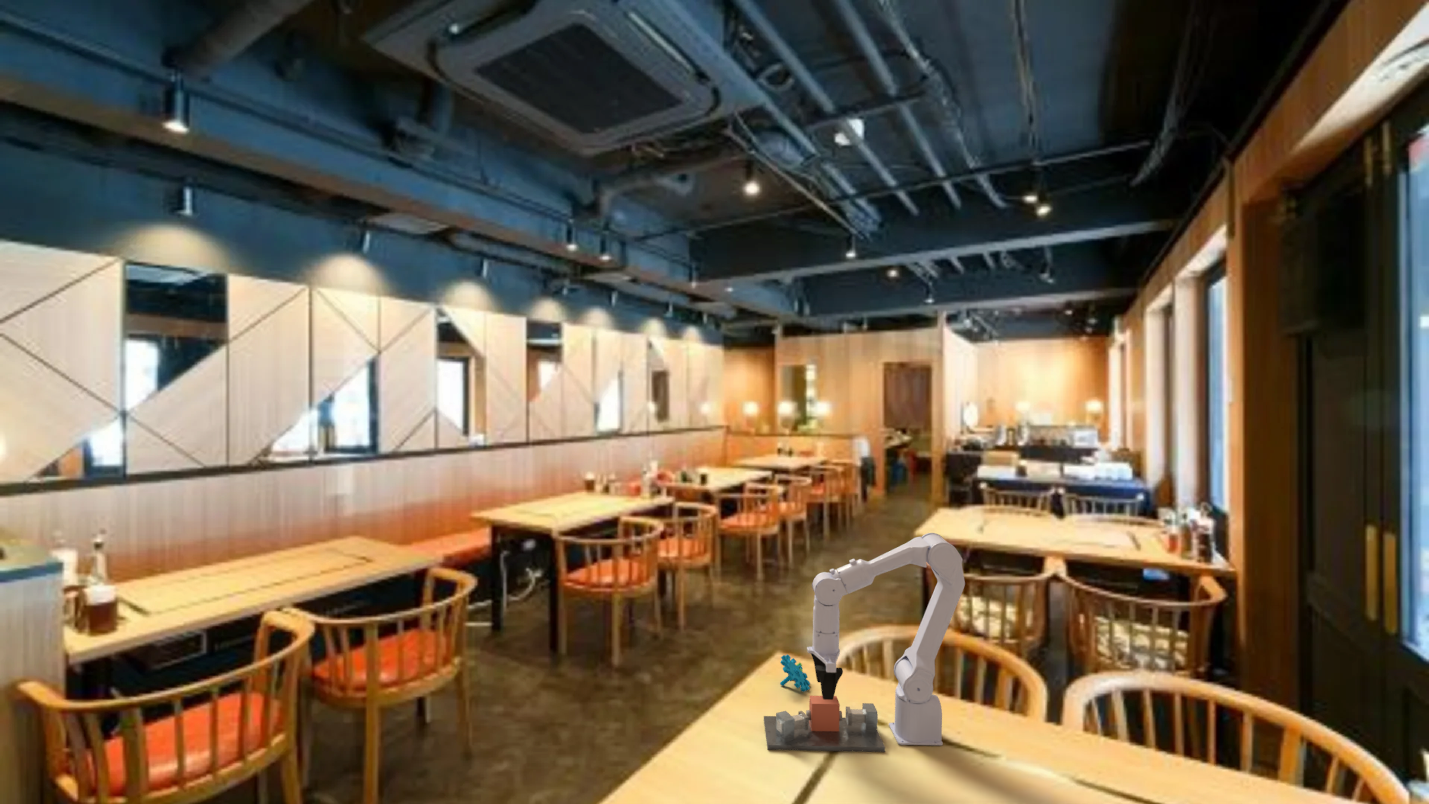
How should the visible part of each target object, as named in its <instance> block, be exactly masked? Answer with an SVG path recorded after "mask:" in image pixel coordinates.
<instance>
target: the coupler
mask: <svg viewBox="0 0 1429 804" xmlns="http://www.w3.org/2000/svg"><path fill="white" fill-rule="evenodd" d="M808 702H809V705H808V709H807V710H806V711H805V712H806V713H805V714H806V715H807V716H808V717H809V724H810V727H811V731H839V721H842V718H843V714H842V710H840V709H841V708H840V706H841V705H840V702H839V699H838V697H837V695H834V697H833V700H824V699H823V696H822V695H809V701H808Z"/></svg>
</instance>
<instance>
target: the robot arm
mask: <svg viewBox="0 0 1429 804" xmlns="http://www.w3.org/2000/svg"><path fill="white" fill-rule="evenodd" d="M910 564H911V565H915V566H918V567H921V568H927V567H928V566H927V564H928V565H929V566H930V567H931V570H932V572H933V574H934V577H935V578H936V581H937V583H936V585H935V587H934V590H933V593H932V594H931V598H930V599H929V601H928V604H927V607H926V609H925V611H924V614H923V617H922V619H921V621H920V624H919V627H918V629H917V631H916V634H915V637H914V639H913V642H912V643H911V644H912V645H910V646H909V647H908V648H906V649H905V650H904V653H903V655H902V656H901V657H899V658H898V659H897V661H896V662H895V663H894V666H893V674H894V676H895V678H896V680H897V681H898V683H897V685H896V687H895V691H894V692H895V694H894V696H895V700H894V705H895V706H894V722H889V723H888V727H889V728H890V731H891V732H892V735H893V736H894V738H895V740H896V742H897V744H898V745H903V746H904V745H905V746H907V745H909V746H943V741H942V738H943V737H942V735H943V734H942V733H943V732H942V731H943V710H942V704H941V701H940V698H939V697H938V695H937V694H933V692H934V684H933V683H934V679H935V675H936V665H935V664H936V662H935V660H936V658H937V655H938V653H939V651H940V648H941V645H942V643H943V641H944V638H945V636H946V633H947V631H948V629H949V625H950V623H951V621H952V618H953V616H954V614H955V613H954V612H955V611H956V608H957V606H958V603H959V601H960V598H961V596H962V593H963V591H964V588H965V585H966V582H965V575H964V569H963V557H962V555H961V554H960V553H959V551H958V549H957V548H956V547H955V546H954V545H953V544H952V543H949V542H948V541H947V540H945V539H944V538H943V537H942V536H941V534H938V533H935V532H927V533H925V534H923V535H922V536H916V537H913V538H912V539H911V540H908V541H907V542H906V543H904V544H901V545H899V546H898V547H895V548H892V549H891V550H890V551H887V552H885V553H882V554H881V555H879V556H877V557H874V558H873V559H870V560H869V561H867V560H864V559H861V558H859V559H855V558H852V559H849V563H848V564H845V565H842V566H840V567H838V568H836V569H835V568H830V569H829V571H828V572H826V571H822V572H820V573H818V574H817V575H815V577H814V579H813V581H812V583H811V588H812V590H813V592H814V595H813V596H814V597H813V607H812V608H813V609H812V610H813V611H812V646H807V647H806V651H807V653H808V654H811V657H812V661H813V665H814V670H815V677H816V681H817V683H820V690H821V696H823V699H824V700H833V697H834V696H835V693H836V689H837V686H838V683H839V680H840V678H841V677H842V675H843V673H844V670H843V668H842V667H837V661H838V659H839V657H840V655H841V654H840V653H841V650H840V614H841V613H840V602H841V601H842V598H843V597H844V596H847V595H849V594H851V593H853V592H854V593H855V592H857V591H859V590H861V589H864V588H865V587H868V586H870V585H872V584H873V582H874V580H875V577H876V576H880V575H882V574H885V573H887V572H890V571H891V572H892V571H893V570H896V569H898V568H901V567H904V566H906V565H910Z"/></svg>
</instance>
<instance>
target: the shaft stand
mask: <svg viewBox="0 0 1429 804" xmlns="http://www.w3.org/2000/svg"><path fill="white" fill-rule="evenodd" d="M878 716H879V715H878V710H877V708H876V706H875V704H874V703H872V702H871V703H866V702H864V703H862V709H860V708H859V709H858V708H857V709H856V708H854V709H853V708H851V707H850V706H845V717H842V721H839V731H811V727H810V724H809V717H808V716H807V715H806V713H805V712H803V711H802V710H800V711H798V713H797V714H795V715H791V714H790V713H789V712H788V711H787V710H783V711H780V712H776V714H775V715H763V725H764V733H765V738H766V740H765V741H766V747H767V750H768V751H803V752H805V751H807V752H809V751H810V752H811V751H812V752H813V751H814V752H853V753H854V752H858V753H859V752H860V753H862V752H865V753H886V746H885V744H884V742H883V740H882V737H881V735H880V733H879V731H878V723H879V722H878Z"/></svg>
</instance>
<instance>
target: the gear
mask: <svg viewBox="0 0 1429 804" xmlns="http://www.w3.org/2000/svg"><path fill="white" fill-rule="evenodd" d="M780 658H781V660H780V661H779V662H780V664H781V665H782V666H783V667H782V670H783V672H784V673H786V674H787V676H786V677H785V678H784V679H783V680H781V681H780V683H779V685H780V686H781V687H783V686H785V685H786V684H787V683H788V682H792V681H794V684H793V685H794V687H795V688H796V689H799V688H800V691H801V692H803V693H804V692H806V691H807V690H808V691H809V690H810V685H811V682H810V681H809V680H808V674H807V673H806V672H804V671H803V664H802V663H801V662H798V663H797V660H796V659H795V658H794V657H793V658H792V657H791V656H790V655H789V654H786V655H785V654H783V655H782V656H781V657H780ZM796 663H797V664H796Z"/></svg>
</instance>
